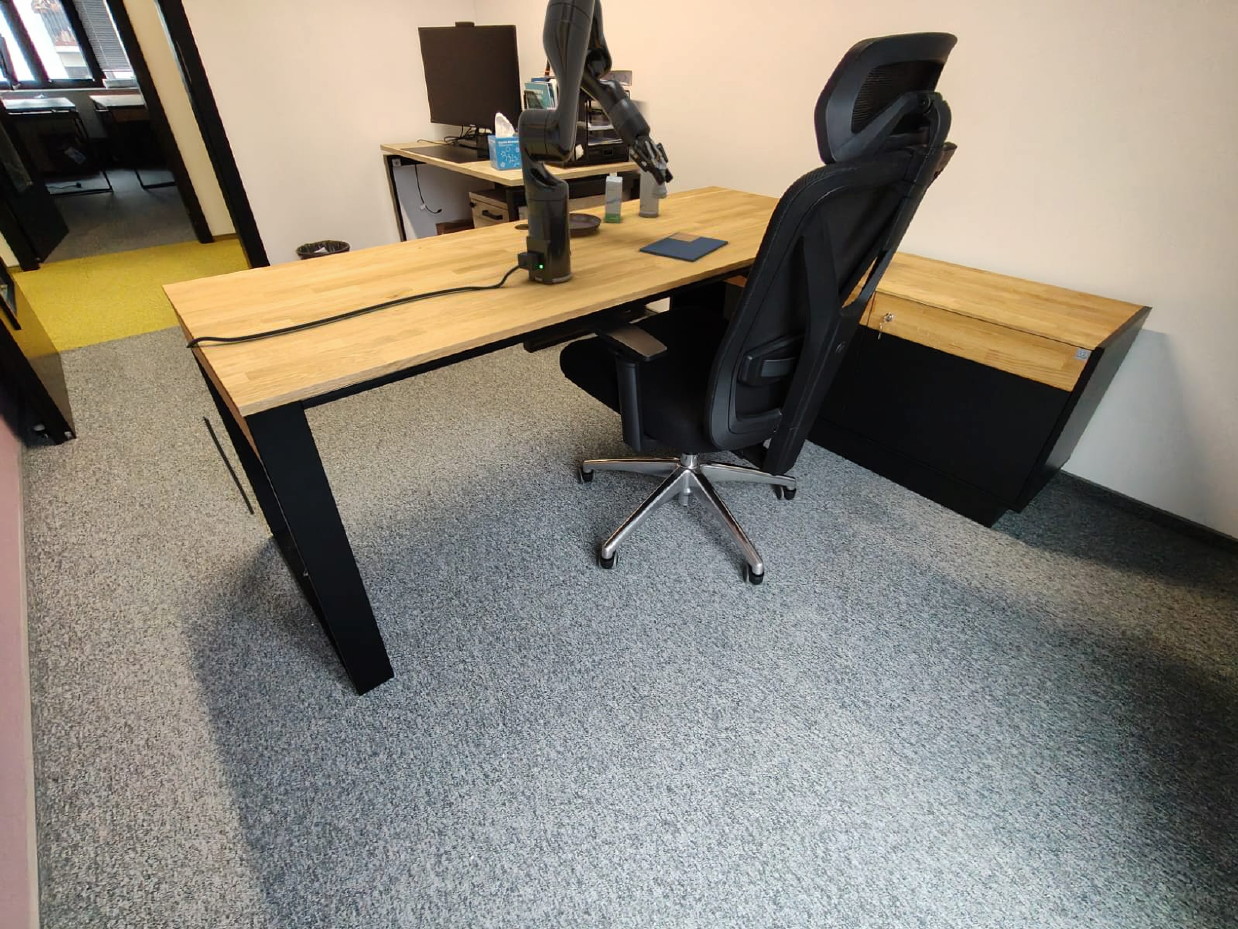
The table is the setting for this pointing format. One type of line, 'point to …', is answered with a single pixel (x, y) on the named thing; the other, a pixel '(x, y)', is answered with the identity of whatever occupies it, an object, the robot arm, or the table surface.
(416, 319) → the table surface
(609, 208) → the ink box
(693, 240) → the desk mat
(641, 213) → the travel mug
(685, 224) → the table surface
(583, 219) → the plant saucer
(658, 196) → the rook chess piece
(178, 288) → the table surface
